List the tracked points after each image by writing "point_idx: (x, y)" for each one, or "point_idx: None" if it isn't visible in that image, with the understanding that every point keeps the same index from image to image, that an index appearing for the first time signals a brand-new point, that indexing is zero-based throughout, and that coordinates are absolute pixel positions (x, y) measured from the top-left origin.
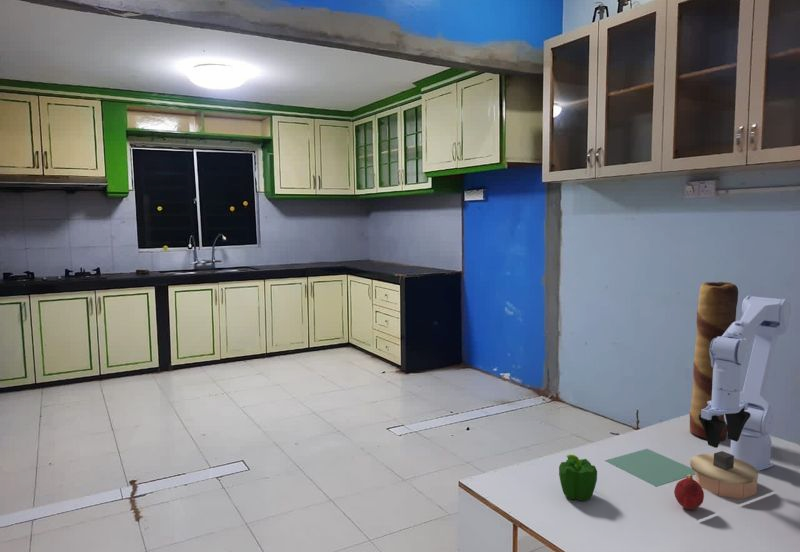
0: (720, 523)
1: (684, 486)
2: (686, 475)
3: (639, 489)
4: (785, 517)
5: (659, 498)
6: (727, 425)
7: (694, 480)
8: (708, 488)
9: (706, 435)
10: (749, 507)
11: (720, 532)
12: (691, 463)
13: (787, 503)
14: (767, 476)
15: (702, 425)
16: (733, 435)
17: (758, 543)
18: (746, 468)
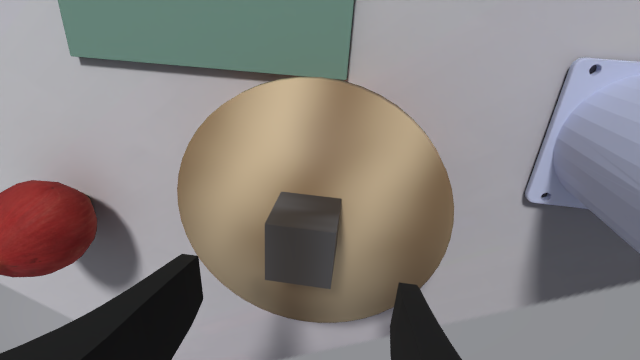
0: (117, 274)
1: None
2: (260, 65)
3: (11, 22)
4: (292, 344)
5: (44, 109)
6: (418, 354)
7: (7, 269)
8: None
9: (130, 292)
10: None
11: (86, 289)
12: (206, 122)
13: (376, 327)
14: (548, 236)
15: (30, 341)
16: (395, 338)
17: None
18: (376, 279)
